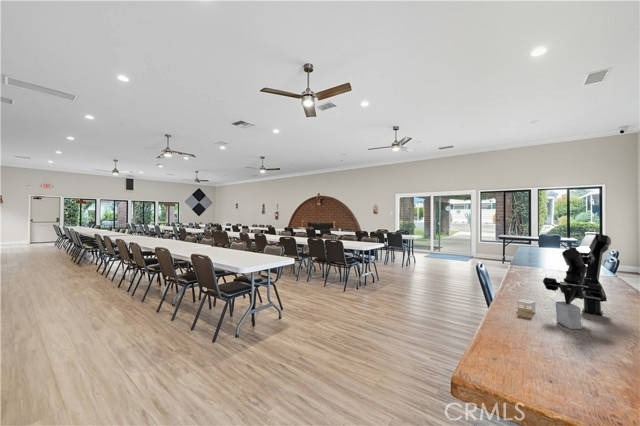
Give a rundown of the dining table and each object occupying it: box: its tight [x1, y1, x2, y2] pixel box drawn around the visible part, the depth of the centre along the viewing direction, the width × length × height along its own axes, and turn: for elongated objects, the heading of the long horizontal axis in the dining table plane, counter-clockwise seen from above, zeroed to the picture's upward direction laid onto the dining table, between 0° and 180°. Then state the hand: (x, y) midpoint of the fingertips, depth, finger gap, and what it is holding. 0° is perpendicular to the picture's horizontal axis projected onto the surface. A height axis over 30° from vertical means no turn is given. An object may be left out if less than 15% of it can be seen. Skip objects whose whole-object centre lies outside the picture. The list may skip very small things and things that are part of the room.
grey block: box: [517, 299, 536, 314], centre depth 131 cm, size 5×5×5 cm
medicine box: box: [555, 301, 583, 330], centre depth 114 cm, size 8×4×9 cm, turn 168°
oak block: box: [517, 305, 534, 319], centre depth 126 cm, size 5×5×4 cm
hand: (567, 303), depth 114 cm, fingers closed, pressing on medicine box
